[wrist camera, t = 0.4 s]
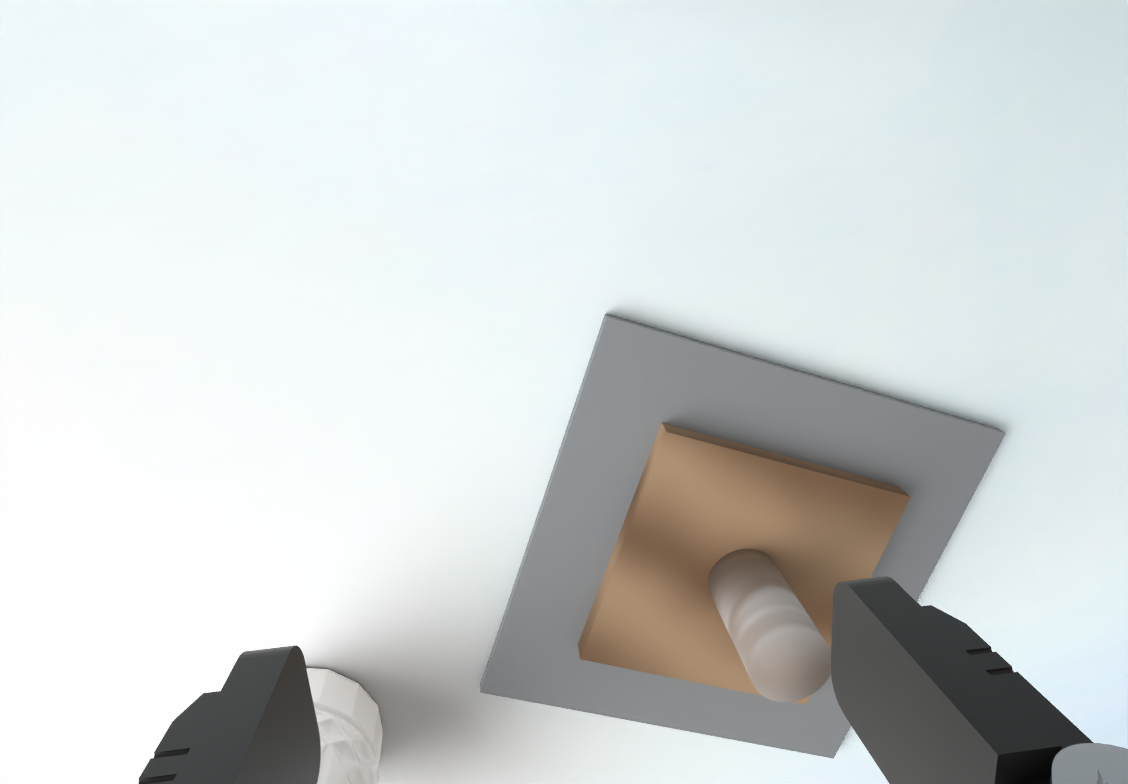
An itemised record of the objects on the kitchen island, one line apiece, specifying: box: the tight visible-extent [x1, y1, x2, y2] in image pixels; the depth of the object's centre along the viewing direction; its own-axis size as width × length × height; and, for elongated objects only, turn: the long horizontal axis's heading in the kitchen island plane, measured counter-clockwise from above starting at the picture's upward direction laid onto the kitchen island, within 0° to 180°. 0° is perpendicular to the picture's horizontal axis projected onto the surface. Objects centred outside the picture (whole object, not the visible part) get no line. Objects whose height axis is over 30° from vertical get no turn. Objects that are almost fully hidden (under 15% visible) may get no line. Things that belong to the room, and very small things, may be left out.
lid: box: [578, 423, 911, 705], centre depth 29 cm, size 11×11×6 cm
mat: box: [480, 314, 1006, 758], centre depth 32 cm, size 18×18×1 cm
